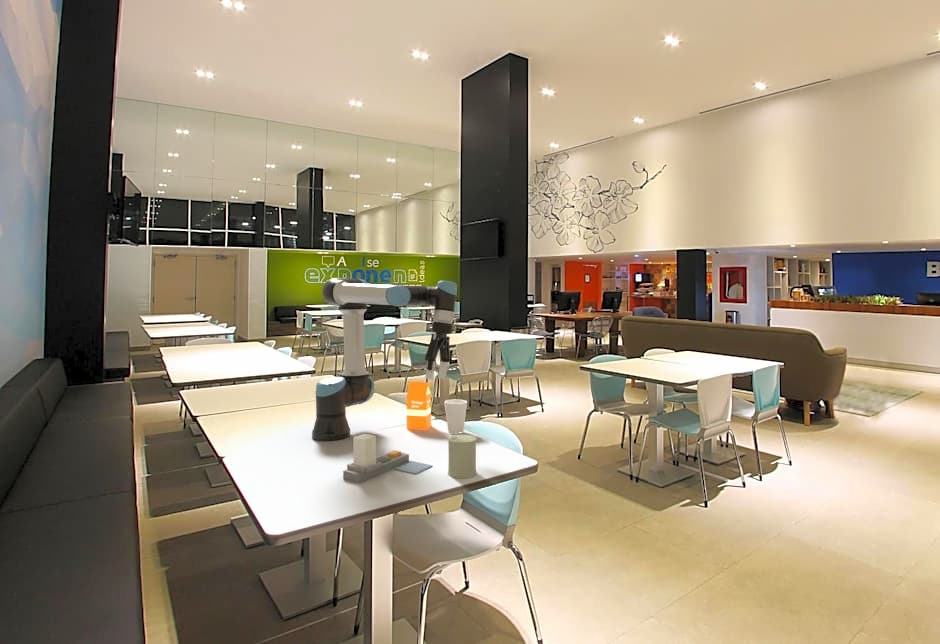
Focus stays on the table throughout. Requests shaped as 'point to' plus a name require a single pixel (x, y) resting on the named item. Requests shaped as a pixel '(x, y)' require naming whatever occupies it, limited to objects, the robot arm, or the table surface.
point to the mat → (413, 467)
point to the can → (462, 456)
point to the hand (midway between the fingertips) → (435, 379)
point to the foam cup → (455, 415)
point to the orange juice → (418, 406)
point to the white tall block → (364, 450)
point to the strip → (375, 467)
